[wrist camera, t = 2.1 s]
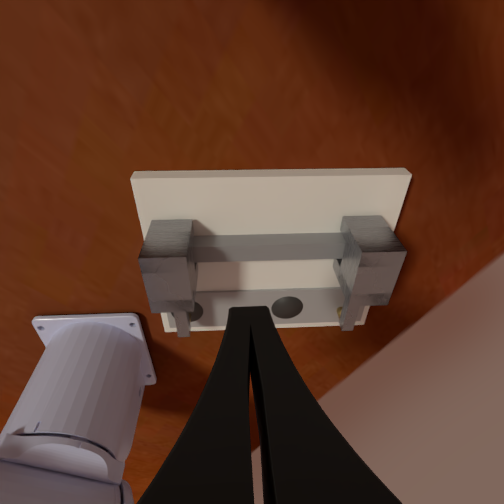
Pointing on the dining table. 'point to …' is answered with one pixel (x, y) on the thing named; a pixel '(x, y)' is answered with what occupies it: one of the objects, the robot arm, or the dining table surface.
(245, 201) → the board
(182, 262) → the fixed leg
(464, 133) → the dining table surface
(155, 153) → the dining table surface
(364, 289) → the grey sliding bolt
